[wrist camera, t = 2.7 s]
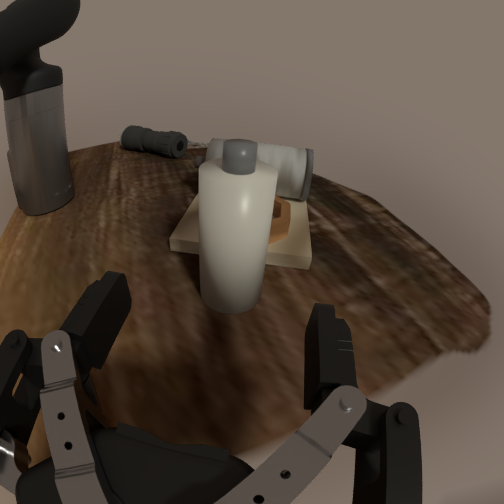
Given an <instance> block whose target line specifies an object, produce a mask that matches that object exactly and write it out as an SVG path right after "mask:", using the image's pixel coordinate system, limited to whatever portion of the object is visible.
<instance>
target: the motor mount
mask: <svg viewBox="0 0 504 504" xmlns="http://www.w3.org/2000/svg"><path fill="white" fill-rule="evenodd" d="M226 140H227V139H214V138H213V139H212V140H211V141H210V143H209V146H208V149H207V153H206V157H205V156H196V158H195V168H199V167H200V165H201V164H203V163H204V162H206V161H209V160H212V159H216V158H222V156H223V142H224V141H226ZM256 143H257V142H256ZM257 144H258V148H257V158H256V160H259V161H262V162H265V163H267V164H269V165H271V166H273V167H274V168H275V169H276V170H277V172H278V178H277V185H276V192H275V199H274V206H273V214H272V221H271V228H270V235H269V242H268V249H267V255H266V262H265V264H270V265H277V266H284V267H292V268H299V269H307V270H309V267H310V263H311V259H312V253H311V242H310V232H309V223H308V213H307V205H306V199H307V197H308V193H309V189H310V184H311V179H312V171H313V150H312V149H301V148H294V147H288V146H281V145H273V144H265V143H257ZM170 250H171V251H178V252H185V253H191V254H198V255H199V192H198V194H197V196H196V197H195V199H194V200H193V202H192V203H191V205H190V206H189V208H188V209H187V211H186V213H185V214H184V216H183V217H182V219H181V220H180V222H179V224H178V225H177V227H176V228H175V230H174V232H173V233H172V235H171V237H170Z"/></svg>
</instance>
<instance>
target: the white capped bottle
mask: <svg viewBox="0 0 504 504" xmlns="http://www.w3.org/2000/svg"><path fill="white" fill-rule="evenodd" d="M257 148H258V144H257V143H256V142H253V141H250V140H244V139H230V140H226V141H224V142H223V156H222V158H216V159H212V160H209V161H206V162H204V163H203V164H201V165H200V167H199V264H200V293H201V297H202V300H203V301H204V303H205V304H206V305H207V306H208V307H210V308H211V309H213V310H215V311H217V312H221V313H225V314H239V313H243V312H246V311H248V310H250V309H252V308H253V307H254V306H255V305H256V304H257V303H258V302H259V299H260V296H261V289H262V282H263V276H264V269H265V262H266V255H267V249H268V242H269V235H270V228H271V221H272V214H273V206H274V199H275V192H276V185H277V178H278V172H277V170H276V169H275V168H274V167H273V166H271V165H269V164H267V163H265V162H262V161H259V160H256V158H257Z"/></svg>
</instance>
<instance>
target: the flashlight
mask: <svg viewBox="0 0 504 504" xmlns="http://www.w3.org/2000/svg"><path fill="white" fill-rule="evenodd" d="M120 144H121V146H122V147H123V148H124V149H128V150H134V151H137V150H139V151H148V150H149V151H153V152H156V153H160V154H163V155H164V156H166V157H170V158H176V157H181V156H182V155H183V154H184V153H185V151H186V149H187V138H186V136H185V135H183V134H182V133H180V132H174V131H170V132H162V131H161V132H158V131H153V130H151V129H149V128H143V127H140V126H132V125H129V126H126V127H125V128H124V129H123V130H122V132H121V135H120Z"/></svg>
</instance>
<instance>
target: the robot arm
mask: <svg viewBox="0 0 504 504" xmlns="http://www.w3.org/2000/svg"><path fill="white" fill-rule="evenodd" d="M79 10H80V0H16V1H14V2H13V3H11V4H10V5H9V6H8V7H7V8H6V9H5V10H3V11H1V12H0V86H1V88H2V90H3V96H4V100H5V101H4V111H5V120H6V129H7V137H8V143H9V151H8V152H7V157H8V162H9V167H10V172H11V177H12V181H13V186H14V190H15V194H16V197H17V202H18V205H19V208H20V209H23V212H24V213H25V214H27V215H40V214H44V213H48V212H51V211H53V210H56V209H58V208H60V207H61V206H63V205H65V204H66V203H68V202H69V201H70V200H71V199H72V197H73V196H74V189H73V183H72V177H71V170H70V163H69V156H68V149H67V140H66V130H65V118H64V104H63V85H61V84H63V76H62V75H63V74H62V69H61V68H60V67H59V66H55V65H50V64H46V63H44V62H43V61H42V60H41V59H40V53H39V47H41V46H43V45H45V44H47V43H49V42H51V41H54V40H56V39H58V38H59V37H61V36H63V35H64V34H65V33H66V32H67V31H68V30H69V29H70V28H71V26H72V25H73V24H74V22H75V20H76V18H77V16H78V13H79ZM130 309H131V296H130V292H129V288H128V284H127V280H126V276H125V274H123V273H118V272H113V271H107V272H106V273H105V274H104V276H103V277H102V279H101V280H100V281H98V280H96V281H95V282H94V283H92V284H91V285H90V286H88V287H87V289H86V290H85V292H84V293H83V295H82V297H80V299H79V300H78V302H77V304H76V305H75V306H74V308H73V309H72V311H71V312H70V314H69V316H68V317H67V319H66V320H65V322H64V323H63V325H62V327H61V328H60V329H59V330H55V331H52V332H50V333H48V334H47V335H46V336H45V337H44V338H28V337H27V335H26V334H25V332H24V331H22V330H18V329H17V330H13V331H11V332H10V333H8V334H7V335H6V337H5V338H4V340H3V342H2V343H1V345H0V485H1V486H3V487H4V488H6V489H7V490H8V491H10V492H11V493H13V494H14V495H15V496H16V501H17V504H290V503H291V502H292V501H293V500H294V499H295V498H296V497H297V496H298V495H299V494H300V493H301V492H302V491H303V490H304V489H305V488H306V487H307V486H308V484H309V483H310V482H311V481H312V480H313V479H314V478H315V477H316V476H317V475H318V474H319V472H320V471H321V470H322V469H323V468H324V467H325V466H326V464H327V463H328V462H329V461H330V459H331V457H332V455H333V453H334V452H335V451H336V449H337V448H338V447H339V446H340V444H343V445H346V446H349V447H352V448H355V449H356V455H355V475H354V489H353V502H352V504H422V458H421V441H420V430H419V420H418V414H417V412H416V410H415V409H414V408H413V407H412V406H411V405H410V404H408V403H405V402H397V403H395V404H393V405H391V406H390V407H388V406H385V405H381V404H378V403H375V402H372V401H370V400H368V399H367V398H365V396H364V394H363V393H362V392H361V391H360V390H359V389H358V386H357V381H356V371H355V362H354V354H353V346H352V343H351V341H352V338H351V331H350V328H349V327H348V325H347V323H346V322H345V320H344V319H338V318H335V309H334V305H329V304H320V303H315V304H314V307H313V310H312V313H311V316H310V319H309V322H308V324H307V328H306V332H305V367H304V409H306V410H311V417H310V418H309V419H308V420H307V421H306V422H305V423H304V424H303V425H302V427H301V428H300V429H299V430H297V431H296V432H295V433H294V434H293V435H292V436H291V437H290V438H289V439H288V440H287V441H286V442H285V443H284V444H283V445H281V446H280V447H279V448H278V449H277V450H276V451H275V452H274V453H273V454H272V455H271V456H270V457H269V458H268V459H267V460H266V461H265V462H264V463H263V464H261V465H260V466H259V467H258V468H257V469H256V470H254V469H253V468H252V467H251V466H249V465H248V464H247V463H245V462H244V461H243V460H241V459H239V458H237V457H235V456H233V455H230V449H224V448H218V447H212V446H207V445H202V444H192V445H176V444H169V443H166V442H165V441H163V440H161V439H159V438H157V437H156V436H154V435H152V434H150V433H148V432H147V431H145V430H143V429H139V428H136V427H133V426H130V425H127V424H124V423H121V422H119V424H118V427H110V426H109V424H108V422H107V420H106V418H105V416H104V414H103V412H102V409H101V406H100V403H99V399H98V396H97V392H96V388H95V385H94V381H93V377H92V373H91V372H90V370H91V368H92V367H94V368H97V369H100V370H101V368H102V366H103V364H104V362H105V360H106V358H107V355H108V353H109V351H110V349H111V347H112V345H113V343H114V341H115V339H116V337H117V335H118V333H119V331H120V329H121V327H122V325H123V323H124V321H125V319H126V318H127V316H128V314H129V312H130ZM20 373H22V374H23V376H22V378H21V380H20V383H19V385H18V387H17V389H16V391H15V394H14V396H12V391H13V388H14V386H15V384H16V382H17V380H18V377H19V375H20ZM41 407H42V413H43V419H44V424H45V429H46V434H47V439H48V443H49V447H50V451H51V455H52V456H51V457H49V458H47V459H46V460H44V461H42V462H40V463H38V464H36V465H35V466H33V467H31V468H28V465H29V464H30V463H31V457H30V455H29V453H28V449H27V444H28V441H29V438H30V435H31V432H32V429H33V427H34V424H35V421H36V418H37V416H38V413H39V411H40V408H41Z"/></svg>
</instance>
